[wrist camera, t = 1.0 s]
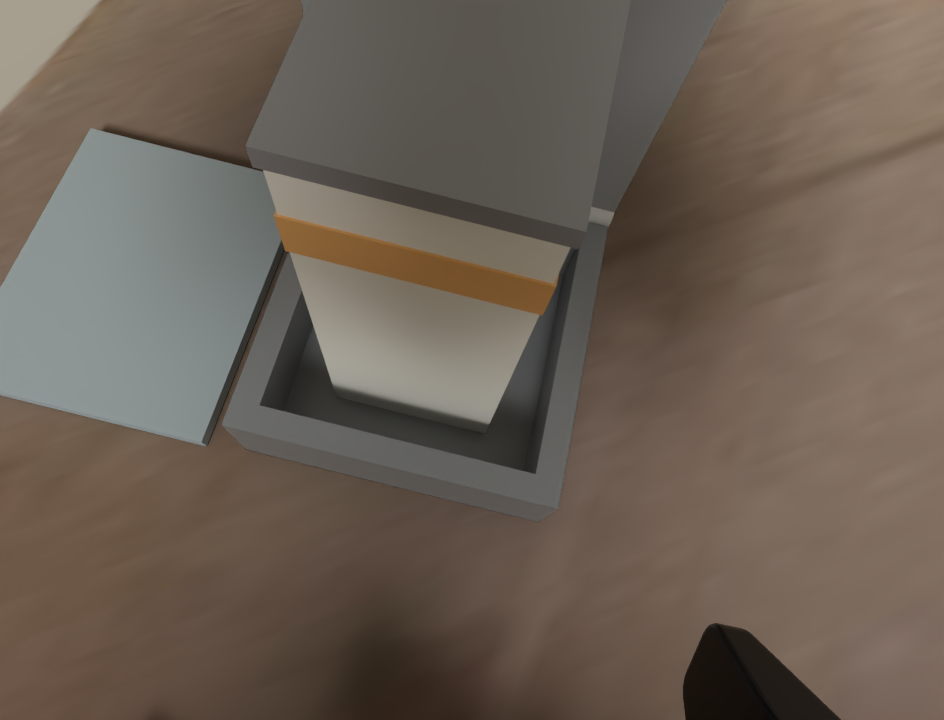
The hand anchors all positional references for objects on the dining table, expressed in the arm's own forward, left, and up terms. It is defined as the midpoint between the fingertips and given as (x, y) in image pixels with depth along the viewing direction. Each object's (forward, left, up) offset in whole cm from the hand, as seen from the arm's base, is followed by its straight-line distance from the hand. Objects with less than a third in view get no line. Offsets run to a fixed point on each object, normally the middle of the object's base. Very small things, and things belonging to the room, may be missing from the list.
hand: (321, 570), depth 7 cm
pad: (+8, +10, -13) cm, 18 cm away
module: (+8, 0, -13) cm, 15 cm away
